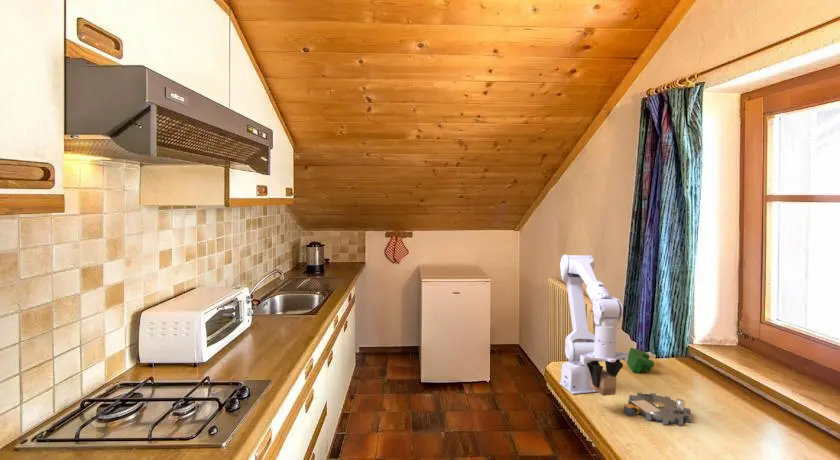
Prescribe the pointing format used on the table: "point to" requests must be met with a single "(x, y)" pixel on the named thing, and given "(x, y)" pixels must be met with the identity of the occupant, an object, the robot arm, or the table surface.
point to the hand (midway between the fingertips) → (602, 385)
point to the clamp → (639, 361)
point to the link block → (605, 384)
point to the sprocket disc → (660, 408)
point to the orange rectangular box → (629, 410)
